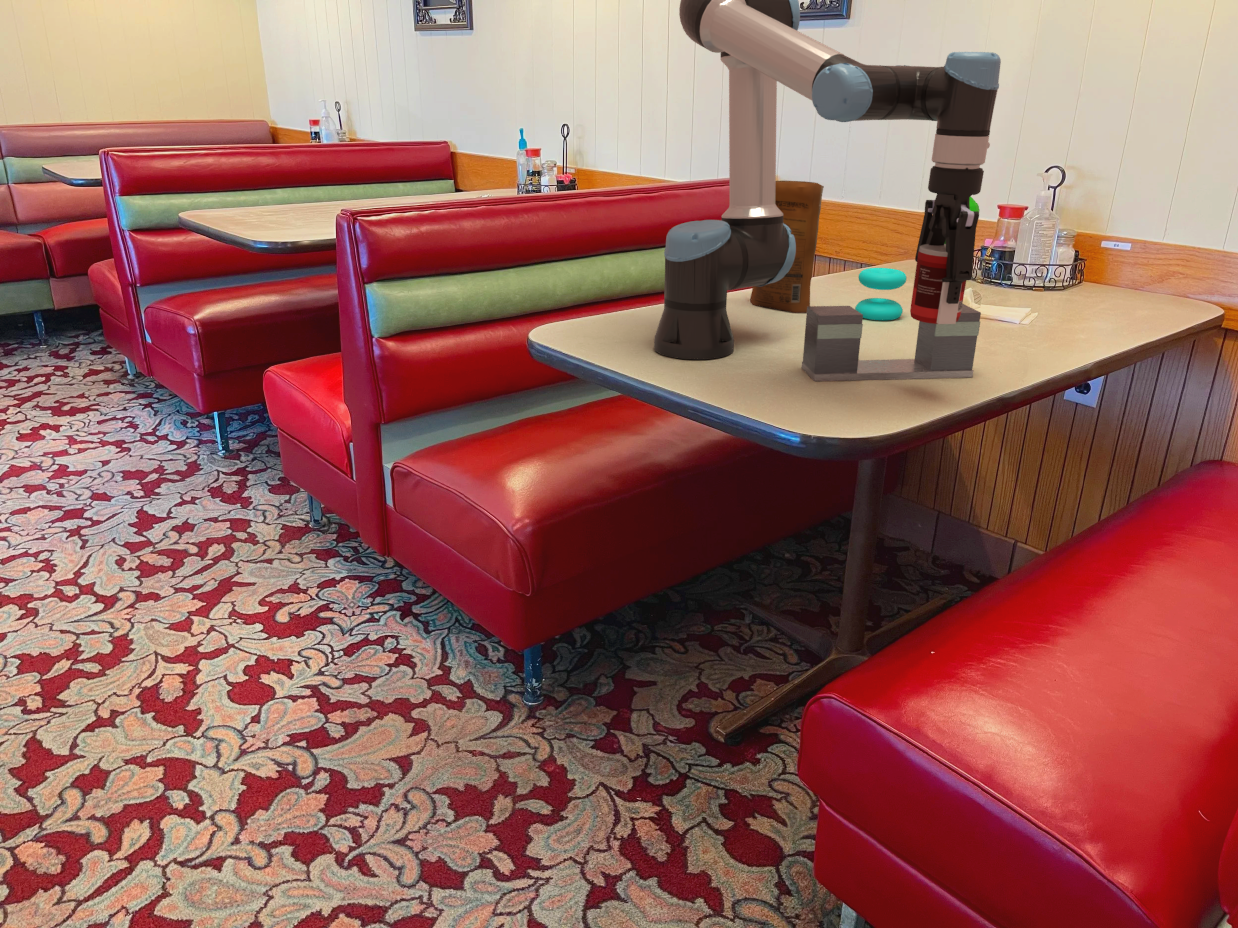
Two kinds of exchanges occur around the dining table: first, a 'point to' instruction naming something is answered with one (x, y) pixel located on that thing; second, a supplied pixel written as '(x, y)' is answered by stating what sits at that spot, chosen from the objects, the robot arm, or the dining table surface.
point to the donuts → (881, 281)
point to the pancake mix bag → (803, 220)
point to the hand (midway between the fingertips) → (934, 316)
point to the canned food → (930, 284)
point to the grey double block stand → (838, 351)
